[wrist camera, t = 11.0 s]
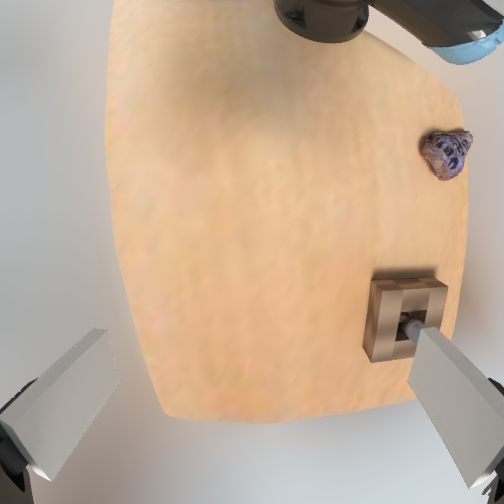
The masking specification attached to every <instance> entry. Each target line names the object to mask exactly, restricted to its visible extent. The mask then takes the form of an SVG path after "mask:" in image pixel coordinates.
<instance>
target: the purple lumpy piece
mask: <svg viewBox="0 0 504 504" xmlns="http://www.w3.org/2000/svg"><path fill="white" fill-rule="evenodd" d="M441 134H442V136H438V135H441ZM472 138H473V137H472V135H471V134H470V132H469V131H458V132H452V133H445V132H441V131H439V132H436V133H433V134H432V135H431V138H430V137H426V140H425V142H424V145H423V148H422V152H423V154H424V155H425V156H424V159H427V160H428V161H429V162H430V163H431V164H432V167H433V168H434V173H435V174H434V175H435V176H436V177H438V179H439V180H442V181H447V180H450V179H451V178H453V177H455V176H458V173H459V172H461V170H462V169H463V166H464V160H465V156H466V155H467V152H468V150H469V148H470V146H471V143H472V142H473V140H472Z"/></svg>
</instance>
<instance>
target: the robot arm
mask: <svg viewBox="0 0 504 504" xmlns="http://www.w3.org/2000/svg"><path fill="white" fill-rule="evenodd" d="M368 4H369V5H370V6H372V7H374V8H375V9H376V10H378V11H380V12H381V13H383V14H384V15H386V16H388V17H389V18H390V19H392V20H393V21H395V22H396V23H397V24H399V25H400V26H402V27H403V28H404V29H406V30H407V31H408V32H410V33H411V34H412V35H414V36H415V37H416V38H417V39H419V40H420V41H421V42H422V44H423V45H424V46H426V47H427V48H429V49H431V50H433V51H434V52H435V53H436V54H438V55H439V56H440V57H441V58H442V59H444V60H445V61H447V62H449V63H452V64H456V65H464V64H469V63H472V62H475V61H477V60H480V59H481V58H483V57H485V56H487V55H488V54H490V53H491V52H492V51H494V50H495V49H496V45H498V44H500V43H502V42H503V40H504V20H503V19H504V0H275V9H276V12H277V15H278V17H279V18H280V20H281V21H282V22H283V24H284V25H285V26H287V27H288V28H289V29H290V30H292V31H293V32H295V33H296V34H298V35H300V36H302V37H304V38H307V39H310V40H313V41H317V42H323V43H341V42H346V41H349V40H351V39H353V38H355V37H357V36H358V35H359V34H360V33H361V32H362V30H363V29H364V27H365V26H366V24H367V21H368V17H369V9H368ZM407 382H408V383H409V385H410V387H411V388H412V390H413V391H414V393H415V395H416V396H417V398H418V399H419V401H420V403H421V405H422V406H423V408H424V409H425V411H426V413H427V414H428V416H429V418H430V419H431V421H432V423H433V425H434V426H435V428H436V430H437V432H438V433H439V435H440V436H441V438H442V440H443V442H444V444H445V446H446V447H447V449H448V451H449V453H450V455H451V457H452V458H453V460H454V462H455V464H456V466H457V467H458V469H459V471H460V473H461V475H462V477H463V479H464V481H465V483H466V485H467V487H468V489H471V488H473V487H475V486H477V485H479V484H480V483H482V482H484V481H486V480H487V478H488V477H489V476H490V475H491V474H492V472H493V471H494V470H495V472H496V473H497V476H496V477H495V478H494V479H493V480H492V482H491V483H490V484H489V485H488V486H487V487H486V488H485V489H484V491H483V493H482V495H485V494H486V492H487V491H488V490H489V489H490V488H491V487H492V488H491V492H490V493H489V494H488V495H489V500H488V503H487V504H504V387H503V386H502V385H501V384H500V383H498V382H496V381H494V380H493V379H491V378H488V379H487V378H486V377H485V376H484V375H483V374H482V373H481V371H480V370H478V368H477V367H476V366H475V365H474V364H473V363H472V362H471V361H470V360H469V359H468V358H467V357H466V356H465V355H464V354H463V353H462V352H461V351H459V349H458V348H457V347H456V346H455V345H454V344H453V343H452V342H451V341H450V340H449V339H447V338H446V337H445V336H444V335H443V334H442V333H441V332H440V331H439V330H438V329H437V328H436V327H431V328H424V329H421V331H420V336H419V340H418V344H417V348H416V352H415V356H414V360H413V364H412V367H411V371H410V374H409V378H408V381H407ZM120 383H121V377H120V375H119V371H118V367H117V364H116V360H115V357H114V353H113V349H112V346H111V341H110V338H109V333H108V330H103V329H95V328H94V329H93V330H91V331H90V332H89V333H88V334H87V335H86V336H85V337H84V338H82V339H81V340H80V341H79V342H78V343H77V344H75V346H73V347H72V348H71V349H70V350H69V351H68V352H66V353H65V354H64V355H63V356H62V357H61V358H60V359H59V360H58V361H56V362H55V363H54V364H53V365H52V366H51V367H50V368H49V369H48V370H46V371H45V372H44V373H43V374H42V375H41V376H40V377H39V378H37V379H35V380H33V381H31V382H29V383H28V384H27V385H26V386H24V387H23V388H22V389H21V392H18V393H17V394H16V395H15V397H14V398H12V399H11V400H10V401H9V402H8V403H6V404H5V405H4V406H3V407H2V408H1V409H0V504H34V502H33V496H32V491H31V485H30V478H29V473H28V470H27V469H26V468H25V467H26V466H27V465H28V463H29V465H30V466H31V467H32V468H33V470H34V471H35V472H36V473H37V474H38V475H40V476H42V477H44V478H45V479H47V480H49V481H51V482H52V481H53V480H54V478H55V476H56V475H57V473H58V472H59V470H60V469H61V467H62V466H63V464H64V463H65V461H66V460H67V458H68V457H69V456H70V454H71V453H72V451H73V450H74V448H75V447H76V445H77V444H78V442H79V441H80V439H81V438H82V436H83V435H84V434H85V432H86V431H87V429H88V428H89V426H90V425H91V423H92V422H93V421H94V419H95V418H96V416H97V415H98V413H99V412H100V411H101V409H102V408H103V406H104V405H105V404H106V402H107V401H108V399H109V398H110V397H111V395H112V394H113V392H114V391H115V390H116V388H117V387H118V385H119V384H120Z"/></svg>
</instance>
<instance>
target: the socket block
mask: <svg viewBox="0 0 504 504" xmlns="http://www.w3.org/2000/svg"><path fill="white" fill-rule="evenodd" d="M447 291H448V286H447V285H445V284H443V283H442V282H440V281H439V280H437V279H435V278H434V277H430V278H412V279H391V280H371V286H370V296H369V305H368V313H367V321H366V328H365V335H364V341H363V349H364V351H365V353H366V354H367V356H368V358H369V360H370V362H371V363H374V362H382V361H390V360H397V359H404V358H411V357H414V356H415V352H416V348H417V347H416V346H415V345H414V343H413V342H412V341H411V340H410V339H409V337H408V336H407V335H406V334H405V333H404V332H403V330H402V329H401V328H400V327H399V326H398V323H399V317H400V312H409V311H412V313H413V314H414V315H415V316H416V317H417V318H418V319H419V320H420V321H421V322H422V323H423V324H424V325H425V326H426V327H427V328H431V327H436V328H437V329H438V330H440V326H441V322H442V317H443V312H444V308H445V302H446V297H447Z"/></svg>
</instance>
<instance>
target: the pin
mask: <svg viewBox="0 0 504 504" xmlns="http://www.w3.org/2000/svg"><path fill="white" fill-rule="evenodd" d="M398 326H399V327H400V328H401V329H402V330H403V332H404V333H405V334H406V335H407V336H408V337H409V339H410V340H411V341H412V342H413V343H414V345H415V346H416V347H417V344H418V340H419V336H420V331H421V329H424V328H427V327H426V326H425V325H424V324H423V323H422V322H421V321H420V320H419V319H418V318H417V317H416V316H415V315H414V314H413V313H412V312H411V311H409V312H400V317H399V323H398Z"/></svg>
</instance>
